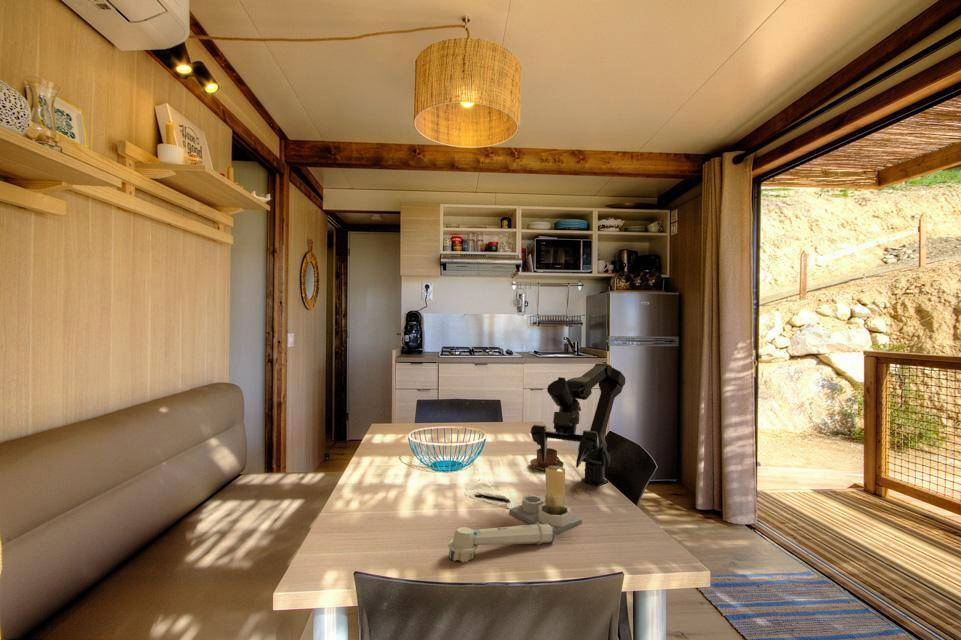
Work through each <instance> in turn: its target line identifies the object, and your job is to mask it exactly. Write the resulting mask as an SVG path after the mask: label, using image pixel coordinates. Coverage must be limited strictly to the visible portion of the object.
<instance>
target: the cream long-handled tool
mask: <svg viewBox="0 0 961 640" xmlns="http://www.w3.org/2000/svg"><path fill="white" fill-rule="evenodd" d="M555 538H556V535H555V531H554V527H553V526H552V525H551V524H539V523H536V524H534V525H532V524H526V525H525V524H524V525H513V526H503V527H492V528H482V529H472V528H470V527H465V526H463V527H458V528H457V529H456V530H455V532H454V534H453V539H451V540H450V541H449V542H448V545H447V547H448V548H449V552H448V556H449V559H450V560H451V561H452V560H453V562H455V561H457V560H458V561H460V562H461V563H469V561H470V560H473V559H474V557H475V552H476V551H477V550H478V547H479V546H490V545H491V546H492V545H494V546H495V545H525V544H526V545H527V544H536V545H538V546H539V545H541V544H549V543H553V542H554V541H555Z"/></svg>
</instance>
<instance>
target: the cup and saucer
mask: <svg viewBox="0 0 961 640" xmlns="http://www.w3.org/2000/svg"><path fill="white" fill-rule="evenodd" d="M529 463H530V465H531V466H532V468H534V469H537V470H540V471H545V472H546V467H547V466H560V467H563V468H564V462H563V461H562V460H561V459H560V457H559V456H558V450H556V449H555V448H549V447H547V451H546V459H545V462H544V463H543V461H542V454H541V447H540V448H537V449H536V457H535V458H532V459H531V460H530V461H529Z"/></svg>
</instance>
